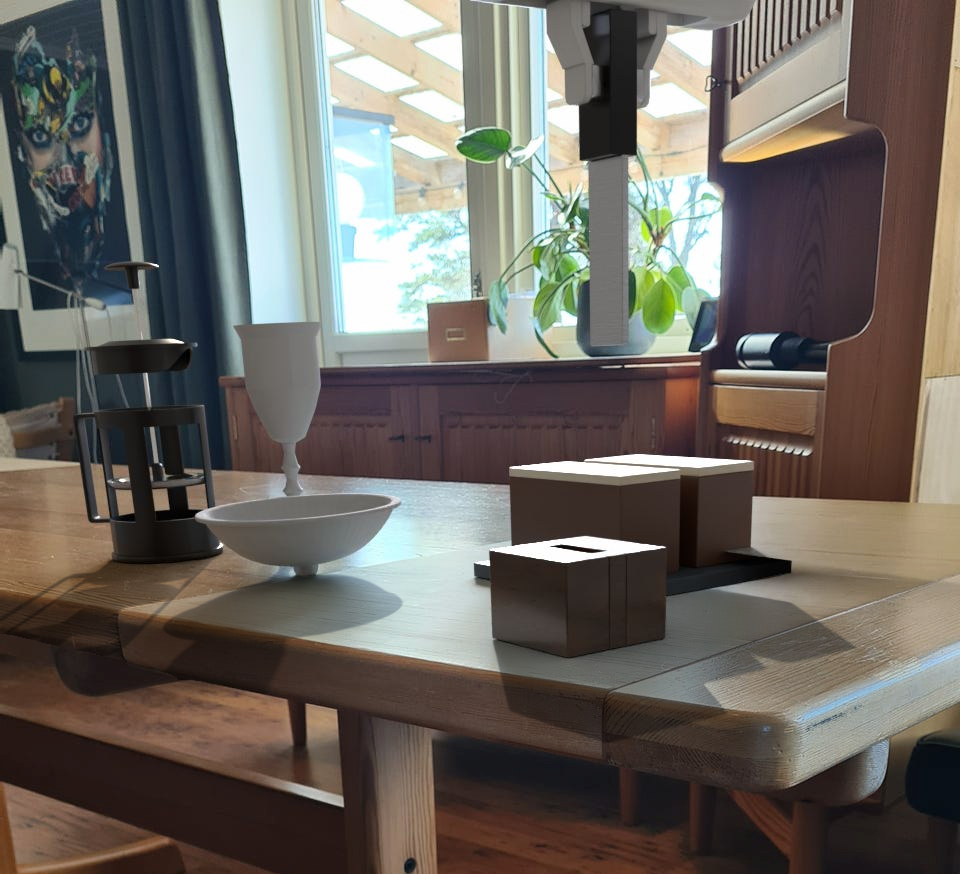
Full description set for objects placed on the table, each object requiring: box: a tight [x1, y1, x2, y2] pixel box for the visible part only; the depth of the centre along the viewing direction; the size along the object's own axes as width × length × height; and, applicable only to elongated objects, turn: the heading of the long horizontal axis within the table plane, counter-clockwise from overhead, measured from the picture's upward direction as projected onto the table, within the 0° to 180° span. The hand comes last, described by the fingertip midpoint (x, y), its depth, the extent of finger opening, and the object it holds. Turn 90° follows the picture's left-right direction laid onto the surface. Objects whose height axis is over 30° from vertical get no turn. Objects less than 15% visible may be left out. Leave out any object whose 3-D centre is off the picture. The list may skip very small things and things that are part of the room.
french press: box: [72, 261, 224, 564], centre depth 106 cm, size 12×9×23 cm
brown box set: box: [473, 454, 793, 596], centre depth 90 cm, size 16×16×8 cm
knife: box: [578, 8, 638, 347], centre depth 74 cm, size 2×3×17 cm, turn 36°
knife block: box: [488, 536, 667, 658], centre depth 72 cm, size 7×7×5 cm
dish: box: [195, 492, 402, 576], centre depth 97 cm, size 18×14×5 cm
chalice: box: [232, 321, 323, 497], centre depth 108 cm, size 7×7×18 cm
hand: (608, 106), depth 73 cm, fingers closed on knife, 2 cm apart
